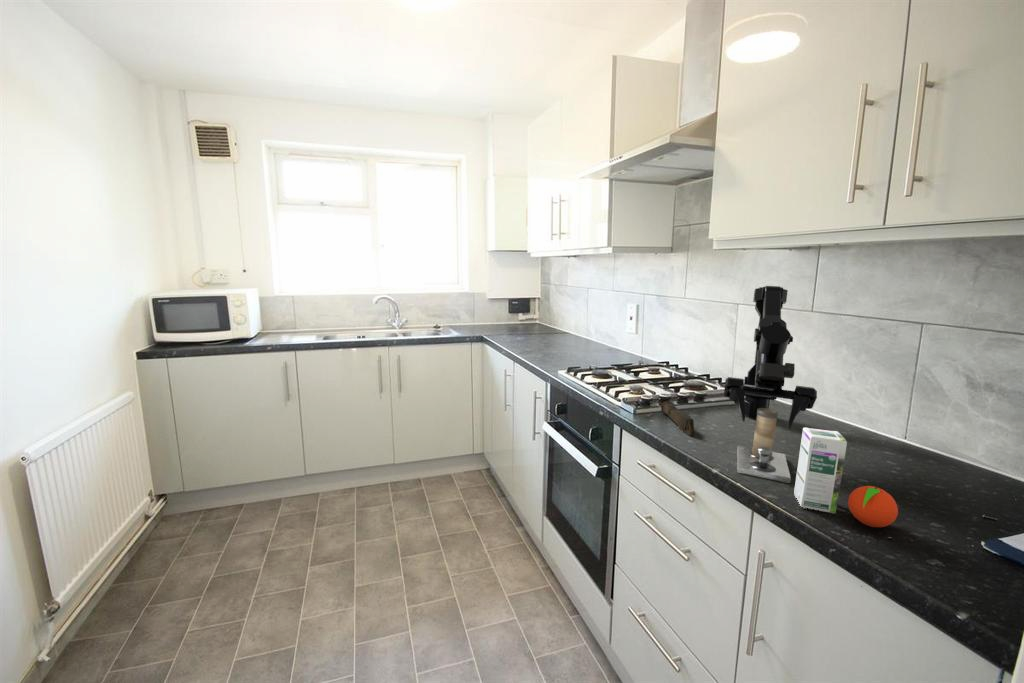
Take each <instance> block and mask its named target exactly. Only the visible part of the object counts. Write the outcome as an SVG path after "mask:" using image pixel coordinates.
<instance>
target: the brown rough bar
mask: <svg viewBox="0 0 1024 683" xmlns="http://www.w3.org/2000/svg"><path fill="white" fill-rule="evenodd" d="M660 409H661V413H663V412H664V413H663V414H664V415H666V416H668V418H669V419H670V420H672V422H674V423H675V424H676V425H677V426H678V430H679V429H680V430H679V431H681V432H682V431H683V432H682V433H684V434H685V433H686V434H685V435H687V434H688V435H687V436H689V435H690V437H691V436H693V432H694V430H695V429H694V428H695V427H694V426H695V421H694V419H693V417H692V416H690V415H689V414H684V413H683V412H682V411H680V410H679V409H678V408H677V406H675V404H674V402H672V401H667V400H666V401H663V402H662V403H661V404H660Z"/></svg>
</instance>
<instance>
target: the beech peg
mask: <svg viewBox="0 0 1024 683" xmlns="http://www.w3.org/2000/svg"><path fill="white" fill-rule="evenodd" d="M778 416H779V411H777V410H775V409H772V408H769V409H768V408H758V410H757V419H756V420H755V421H756V422H755V428H754V436H753V443H752V448H753V449H752V455H753V456H755V457H757V458H760V454H759V453H758V447H767V448H770V449H772V450H773V447H774V442H775V441H774V440H775V435H776V427H777V420H778V419H777V418H778ZM769 459H771V456H769Z"/></svg>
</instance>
